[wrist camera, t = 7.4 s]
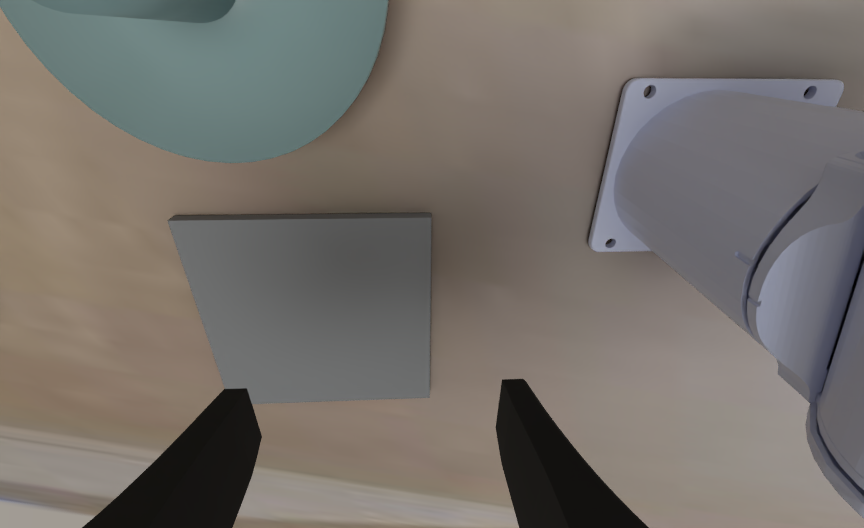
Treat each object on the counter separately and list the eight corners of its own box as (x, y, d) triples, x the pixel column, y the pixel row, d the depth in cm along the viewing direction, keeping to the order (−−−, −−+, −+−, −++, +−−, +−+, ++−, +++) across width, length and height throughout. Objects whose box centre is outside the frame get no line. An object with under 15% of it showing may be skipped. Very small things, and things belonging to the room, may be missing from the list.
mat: (430, 212, 19) (431, 217, 19) (428, 390, 25) (429, 397, 25) (173, 215, 19) (167, 220, 18) (234, 396, 24) (230, 404, 24)
